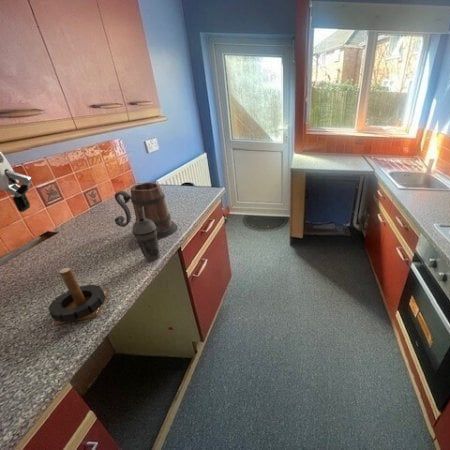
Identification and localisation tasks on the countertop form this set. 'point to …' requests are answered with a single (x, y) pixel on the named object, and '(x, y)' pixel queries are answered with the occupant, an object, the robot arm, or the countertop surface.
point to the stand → (76, 293)
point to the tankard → (147, 207)
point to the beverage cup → (147, 237)
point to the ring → (72, 314)
